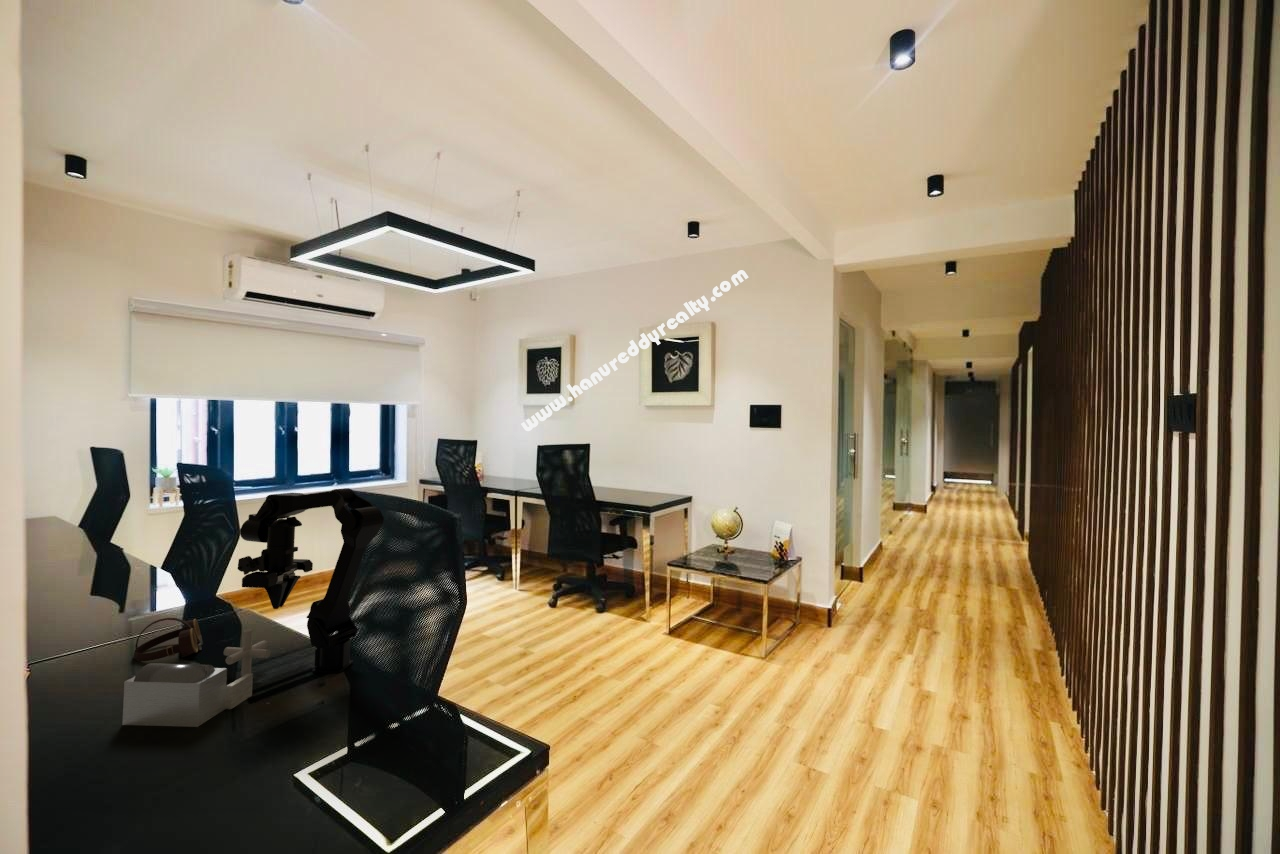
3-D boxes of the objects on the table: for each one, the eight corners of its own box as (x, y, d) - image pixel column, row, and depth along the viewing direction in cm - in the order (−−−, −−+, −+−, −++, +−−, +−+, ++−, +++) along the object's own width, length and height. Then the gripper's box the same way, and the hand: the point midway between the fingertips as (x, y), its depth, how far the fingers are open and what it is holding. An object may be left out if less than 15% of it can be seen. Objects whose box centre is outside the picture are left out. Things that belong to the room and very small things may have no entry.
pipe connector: (282, 667, 132) (284, 624, 132) (249, 685, 122) (251, 639, 122) (243, 664, 133) (245, 622, 133) (206, 682, 123) (209, 636, 123)
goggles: (201, 656, 137) (191, 617, 136) (131, 679, 130) (120, 639, 129) (206, 637, 150) (197, 601, 149) (142, 657, 142) (132, 620, 141)
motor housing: (252, 695, 118) (254, 647, 118) (204, 726, 105) (206, 672, 105) (172, 693, 118) (174, 645, 118) (114, 724, 105) (117, 670, 105)
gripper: (272, 536, 148) (270, 596, 148) (220, 550, 130) (216, 618, 129) (315, 538, 148) (312, 597, 148) (268, 552, 130) (265, 620, 129)
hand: (277, 607), depth 138 cm, fingers closed
